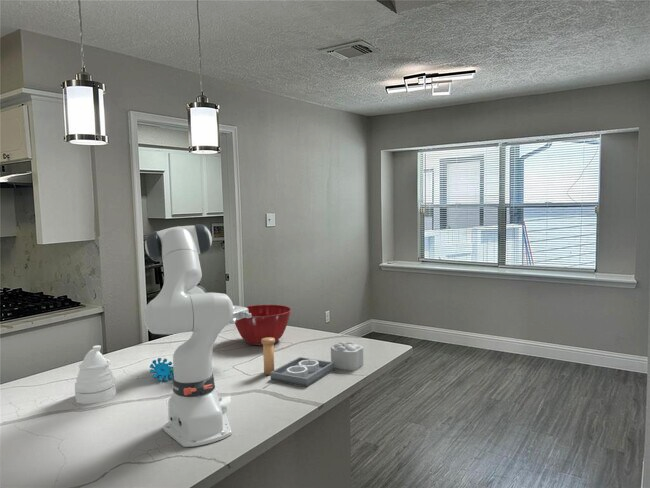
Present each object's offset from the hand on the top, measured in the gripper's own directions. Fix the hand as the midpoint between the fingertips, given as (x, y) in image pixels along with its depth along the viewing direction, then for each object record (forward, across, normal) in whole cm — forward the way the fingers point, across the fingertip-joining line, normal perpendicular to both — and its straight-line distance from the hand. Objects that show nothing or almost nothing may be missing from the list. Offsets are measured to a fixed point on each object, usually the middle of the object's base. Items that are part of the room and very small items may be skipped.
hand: (242, 318), depth 191 cm
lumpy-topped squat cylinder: (+35, +22, +21) cm, 46 cm away
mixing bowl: (-17, +34, +21) cm, 44 cm away
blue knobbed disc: (-20, -23, +21) cm, 37 cm away
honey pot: (-29, -46, +20) cm, 58 cm away
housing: (+25, +4, +20) cm, 33 cm away
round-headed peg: (+12, 0, +20) cm, 24 cm away
